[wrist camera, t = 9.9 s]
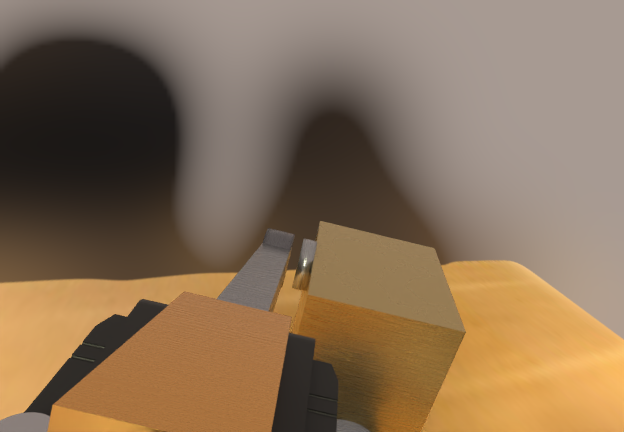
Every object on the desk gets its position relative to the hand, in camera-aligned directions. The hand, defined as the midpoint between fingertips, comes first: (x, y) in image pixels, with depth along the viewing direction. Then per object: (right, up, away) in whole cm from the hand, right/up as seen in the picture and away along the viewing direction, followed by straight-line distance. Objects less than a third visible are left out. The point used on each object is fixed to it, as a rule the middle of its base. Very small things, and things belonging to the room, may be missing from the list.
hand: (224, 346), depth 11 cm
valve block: (+3, -13, +20) cm, 24 cm away
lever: (0, +1, +16) cm, 16 cm away
